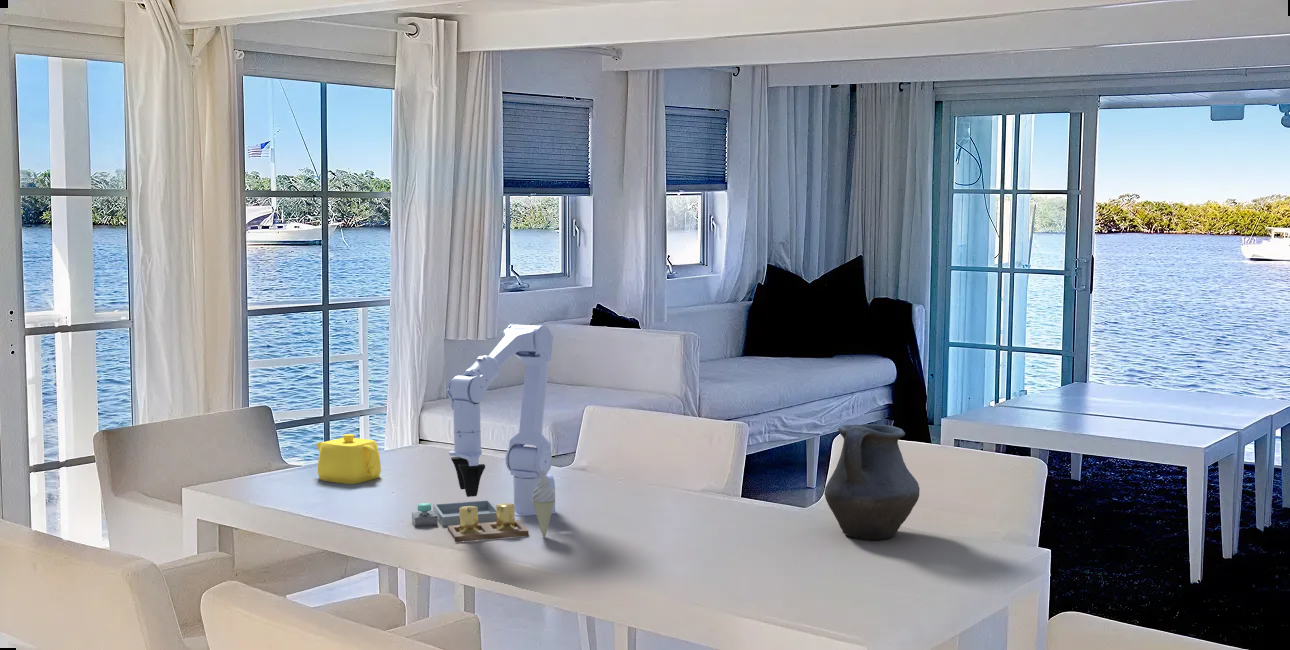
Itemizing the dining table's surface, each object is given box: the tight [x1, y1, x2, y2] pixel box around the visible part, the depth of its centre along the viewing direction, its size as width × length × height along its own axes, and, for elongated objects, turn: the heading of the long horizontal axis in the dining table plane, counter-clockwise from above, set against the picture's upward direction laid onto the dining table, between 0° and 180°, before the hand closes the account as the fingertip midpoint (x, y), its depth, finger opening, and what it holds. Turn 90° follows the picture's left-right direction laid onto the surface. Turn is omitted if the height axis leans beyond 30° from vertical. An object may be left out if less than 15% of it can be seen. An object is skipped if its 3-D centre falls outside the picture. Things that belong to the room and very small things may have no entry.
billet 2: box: [495, 502, 516, 531], centre depth 285 cm, size 4×4×6 cm
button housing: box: [411, 510, 439, 528], centre depth 291 cm, size 5×5×2 cm
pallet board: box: [447, 519, 530, 543], centre depth 284 cm, size 16×10×1 cm, turn 108°
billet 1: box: [459, 506, 479, 534], centre depth 282 cm, size 4×4×6 cm
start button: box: [417, 502, 432, 516], centre depth 291 cm, size 3×3×4 cm
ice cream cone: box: [532, 469, 556, 538], centre depth 280 cm, size 5×5×15 cm
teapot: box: [315, 433, 382, 485], centre depth 342 cm, size 20×12×12 cm, turn 59°
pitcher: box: [823, 423, 920, 542], centre depth 279 cm, size 21×22×25 cm
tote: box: [432, 499, 496, 527], centre depth 297 cm, size 13×13×2 cm
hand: (468, 492), depth 282 cm, fingers open, 7 cm apart
